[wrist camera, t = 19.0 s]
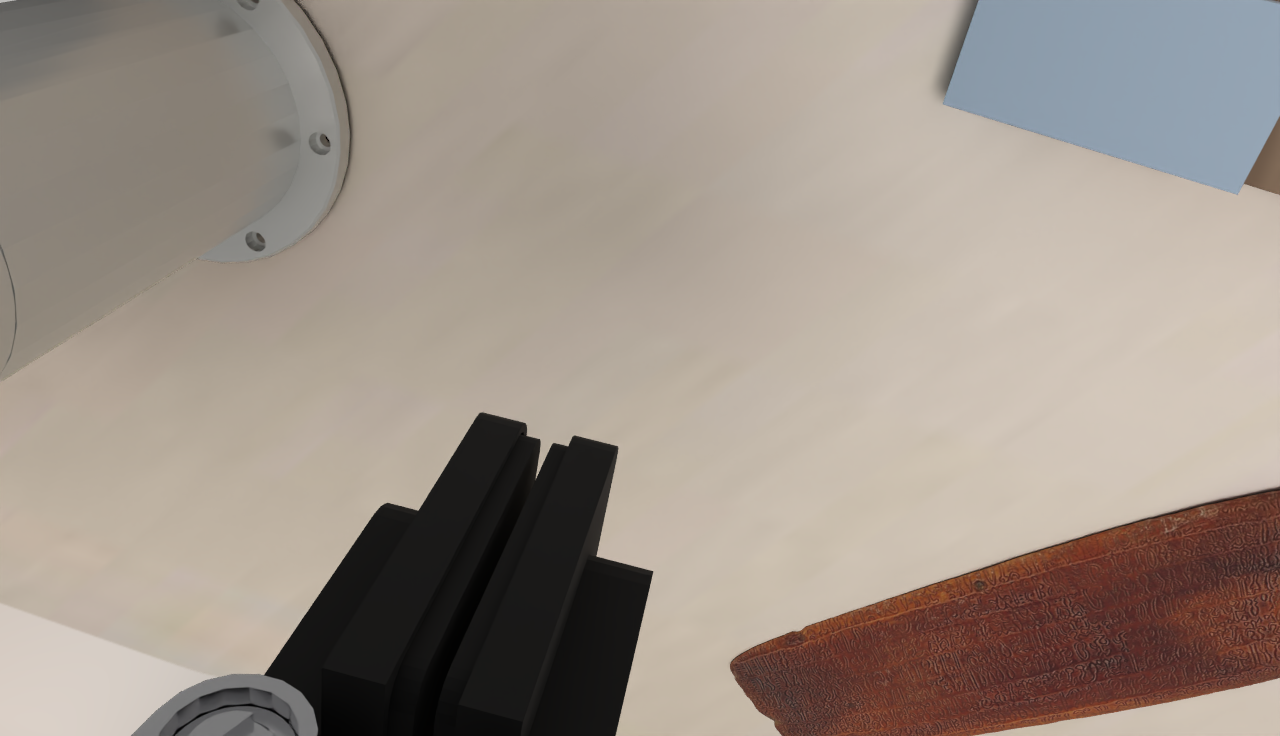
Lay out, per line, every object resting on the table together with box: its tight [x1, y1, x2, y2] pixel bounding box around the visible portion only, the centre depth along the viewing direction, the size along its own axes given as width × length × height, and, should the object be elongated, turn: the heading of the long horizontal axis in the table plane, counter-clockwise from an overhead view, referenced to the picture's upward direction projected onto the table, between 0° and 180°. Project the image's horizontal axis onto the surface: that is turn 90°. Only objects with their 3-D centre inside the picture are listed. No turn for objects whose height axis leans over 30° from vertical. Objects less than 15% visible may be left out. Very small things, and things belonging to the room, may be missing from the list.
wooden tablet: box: [730, 490, 1280, 736], centre depth 42 cm, size 27×10×2 cm, turn 119°
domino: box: [943, 0, 1280, 195], centre depth 28 cm, size 2×5×9 cm
